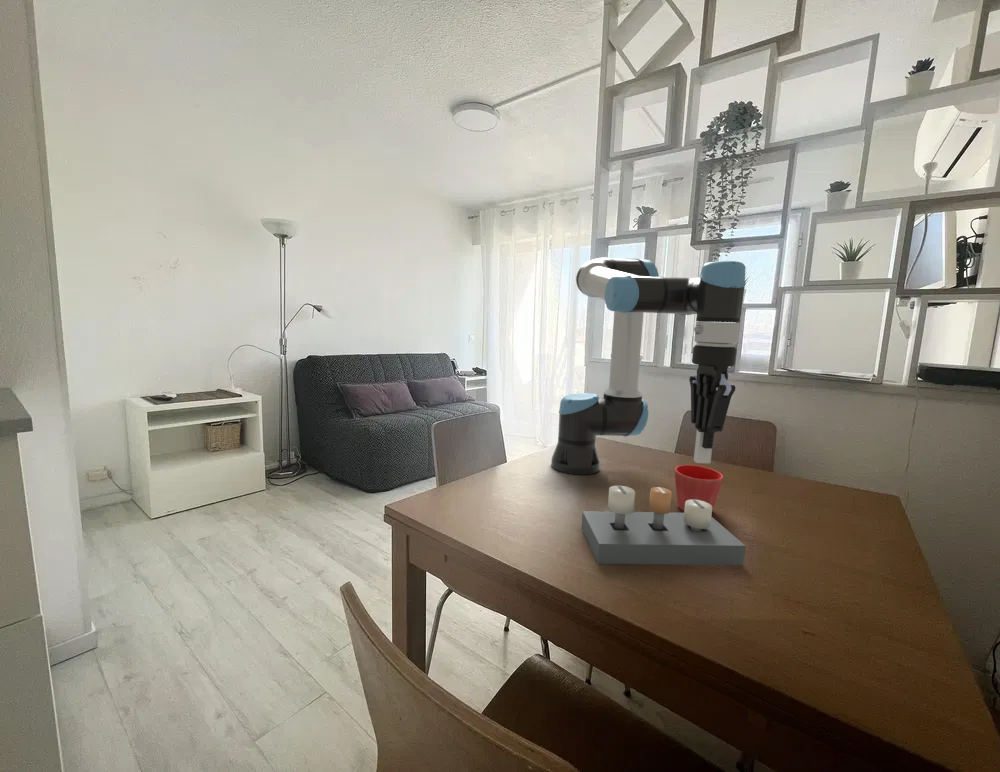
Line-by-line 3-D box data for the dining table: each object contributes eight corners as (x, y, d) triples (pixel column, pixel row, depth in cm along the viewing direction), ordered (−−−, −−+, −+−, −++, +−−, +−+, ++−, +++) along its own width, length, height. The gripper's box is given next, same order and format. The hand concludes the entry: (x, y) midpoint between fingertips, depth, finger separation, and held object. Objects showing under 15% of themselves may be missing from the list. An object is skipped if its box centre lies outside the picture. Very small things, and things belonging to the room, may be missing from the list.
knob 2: (677, 534, 89) (681, 498, 88) (700, 534, 89) (704, 498, 88) (688, 546, 84) (692, 508, 83) (713, 546, 84) (717, 509, 83)
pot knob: (644, 522, 88) (647, 486, 87) (663, 522, 88) (666, 486, 87) (652, 531, 84) (655, 493, 83) (671, 532, 84) (675, 494, 83)
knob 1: (603, 520, 88) (606, 484, 87) (627, 521, 88) (630, 484, 87) (610, 532, 83) (613, 494, 82) (635, 532, 84) (638, 494, 82)
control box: (581, 528, 93) (582, 511, 93) (705, 529, 94) (707, 513, 94) (597, 563, 79) (599, 543, 79) (743, 565, 80) (745, 545, 80)
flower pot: (725, 521, 99) (729, 481, 98) (676, 515, 101) (679, 476, 100) (712, 502, 109) (716, 466, 108) (667, 498, 111) (670, 462, 110)
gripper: (680, 342, 87) (669, 451, 91) (713, 346, 74) (699, 473, 78) (716, 343, 88) (703, 452, 91) (755, 347, 75) (739, 474, 78)
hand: (701, 461), depth 85 cm, fingers closed
